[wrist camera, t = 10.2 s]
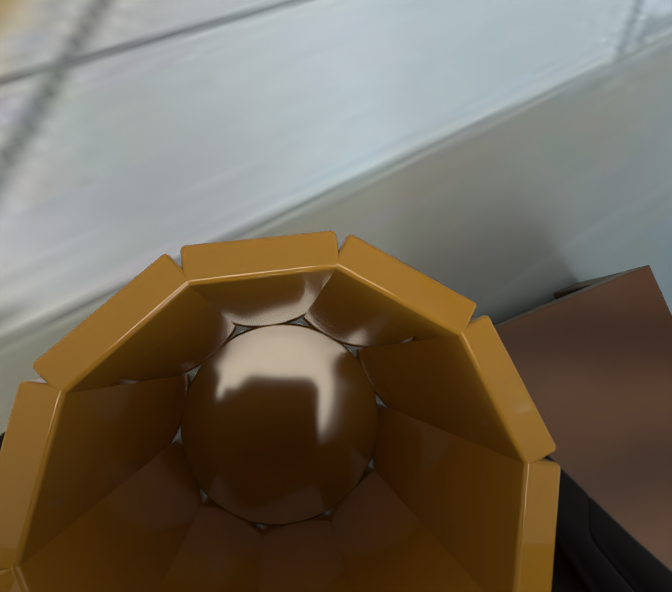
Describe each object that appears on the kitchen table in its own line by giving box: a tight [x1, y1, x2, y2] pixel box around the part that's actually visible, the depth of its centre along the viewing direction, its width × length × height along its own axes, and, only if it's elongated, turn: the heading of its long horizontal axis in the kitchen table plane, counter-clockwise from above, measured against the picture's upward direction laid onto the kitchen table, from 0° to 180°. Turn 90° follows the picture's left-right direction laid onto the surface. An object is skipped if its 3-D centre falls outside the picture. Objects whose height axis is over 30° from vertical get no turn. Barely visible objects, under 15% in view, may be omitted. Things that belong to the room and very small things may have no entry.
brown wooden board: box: [494, 265, 672, 571], centre depth 20 cm, size 16×11×4 cm
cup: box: [0, 230, 561, 592], centre depth 9 cm, size 6×7×8 cm
